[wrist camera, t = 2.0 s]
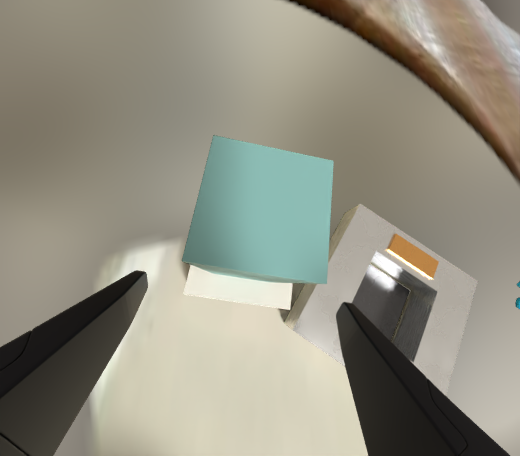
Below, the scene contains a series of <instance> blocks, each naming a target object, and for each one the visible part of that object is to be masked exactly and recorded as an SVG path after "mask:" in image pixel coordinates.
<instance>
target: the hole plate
mask: <svg viewBox="0 0 520 456" xmlns="http://www.w3.org/2000/svg"><path fill="white" fill-rule="evenodd" d="M370 263H371V264H373V265H374V266H376V267H377V268H379V269H380V270H382V271H383V272H385V273H386V274H388V275H389V276H391V277H392V278H394V279H395V280H397V281H398V282H400V283H401V284H403V285H404V286H406V287H407V288H409V289H410V290H411V292H410V291H409V290H408V289H406V288H405V287H403V286H402V285H400V284H399V283H397V282H396V281H394V280H393V279H391V278H390V277H388V276H387V275H385V274H384V273H382V272H381V271H379V270H378V269H376V268H375V267H373V266H372V265H370ZM476 285H477V280H475V279H474V278H472V277H471V276H469V275H468V274H466V273H465V272H463V271H462V270H460V269H459V268H457V267H456V266H454V265H453V264H451V263H450V262H448V261H446V260H445V259H444V258H442V257H440V256H439V255H437V254H436V253H434V252H433V251H431V250H430V249H428V248H426V247H425V246H424V245H422V244H421V243H419V242H418V241H416V240H415V239H413V238H412V237H410V236H409V235H407V234H406V233H404V232H403V231H401V230H400V229H398V228H396V227H395V226H393V225H392V224H390V223H389V222H387V221H386V220H384V219H383V218H381V217H380V216H378V215H377V214H375V213H374V212H372V211H371V210H369V209H368V208H366V207H365V206H363V205H362V204H359V205H357V206H356V207H354V208H353V209H351V210H349V211H348V212H346V213H345V214H344V216H343V217H342V219H341V221H340V223H339V225H338V226H337V228H336V230H335V232H334V234H333V235H332V237H331V239H330V241H329V255H328V273H327V284H305V286H304V287H303V289H302V291H301V293H300V295H299V296H298V298H297V300H296V302H295V304H294V305H293V307H292V309H291V311H290V313H289V314H288V316H287V318H286V320H285V322H284V324H286V325H287V326H288V327H289V328H291V329H292V330H293V331H295V332H296V333H298V334H299V335H300V336H302V337H303V338H305V339H306V340H308V341H309V342H310V343H312V344H313V345H315V346H316V347H318V348H319V349H321V350H322V351H323V352H325V353H326V354H328V355H329V356H331V357H332V358H333V359H335V360H336V361H338V362H339V363H341V364H342V365H344V366H345V364H344V360H343V356H342V352H341V346H340V340H339V334H338V328H337V321H336V313H337V311H338V309H339V307H340V306H341V304H342V303H343V302H349V303H353V304H354V305H355V306H356V307H357V308H358V309H359V310H360V311H361V312H362V313H363V314H364V315H365V316H366V317H367V318H368V319H369V320H370V321H371V322H372V323H373V324H374V325H375V326H376V327H377V328H378V329H379V330H380V331H381V332H382V333H383V334H384V335H385V336H386V337H387V338H388V339H389V340H390V341H391V339H392V336H393V333H394V331H395V328H396V326H397V323H398V320H399V318H400V315H401V313H402V310H403V307H404V305H405V302H406V299H407V297H408V294H409V292H410V295H409V297H408V300H407V303H406V305H405V308H404V310H403V313H402V316H401V318H400V321H399V324H398V326H397V329H396V331H395V334H394V337H393V339H392V343H393V344H394V345H395V346H396V347H397V348H398V349H399V350H400V351H401V352H402V353H403V354H404V355H405V356H406V357H407V358H408V359H409V360H410V361H411V362H412V363H413V364H414V365H415V366H416V367H417V368H418V369H419V370H420V371H421V372H422V373H423V374H424V375H425V376H426V378H428V379H429V380H430V381H431V382H432V383H433V384H434V385H435V386H436V387H437V388H438V389H439V390H440V391H441V392H442V393H443V394H444V395H445V396H446V393H447V390H448V386H449V382H450V379H451V375H452V372H453V368H454V364H455V361H456V357H457V353H458V350H459V346H460V343H461V339H462V336H463V332H464V328H465V325H466V321H467V317H468V314H469V311H470V307H471V303H472V300H473V296H474V292H475V289H476Z"/></svg>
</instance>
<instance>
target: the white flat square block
mask: <svg viewBox="0 0 520 456" xmlns="http://www.w3.org/2000/svg"><path fill="white" fill-rule="evenodd" d="M292 285H293V283H273V282H264V281H258V280H251V279H245V278H239V277H232V276H226V275H219V274H213V273H210V272H208V271H205V270H203V269H200V268H198V267H195V266H193V265H190V269H189V273H188V277H187V281H186V285H185V290H184V294H183V295H190V296H197V297H204V298H211V299H218V300H225V301H231V302H238V303H245V304H252V305H259V306H266V307H273V308H280V309H287V310H290V306H291V296H292Z"/></svg>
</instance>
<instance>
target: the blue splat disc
mask: <svg viewBox="0 0 520 456" xmlns="http://www.w3.org/2000/svg"><path fill="white" fill-rule="evenodd" d="M517 286H518V287H520V282H519V283H518V284H517ZM516 307H517V308H519V309H520V298H517V300H516Z"/></svg>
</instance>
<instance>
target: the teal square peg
mask: <svg viewBox="0 0 520 456" xmlns="http://www.w3.org/2000/svg"><path fill="white" fill-rule="evenodd" d="M332 179H333V161H331V160H327V159H322V158H317V157H313V156H308V155H304V154H298V153H294V152H290V151H285V150H280V149H276V148H271V147H266V146H261V145H257V144H252V143H247V142H243V141H238V140H234V139H229V138H224V137H220V136H215V135H213V139H212V143H211V147H210V151H209V155H208V159H207V163H206V167H205V171H204V175H203V179H202V183H201V187H200V191H199V195H198V199H197V203H196V207H195V210H194V214H193V218H192V222H191V226H190V230H189V234H188V238H187V242H186V246H185V250H184V254H183V258H182V261H183V262H185V263H188V264H190V265H193V266H195V267H198V268H200V269H203V270H205V271H208V272H210V273H213V274H219V275H226V276H232V277H239V278H245V279H251V280H258V281H264V282H273V283H306V284H327V273H328V255H329V236H330V216H331V199H332Z"/></svg>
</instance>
